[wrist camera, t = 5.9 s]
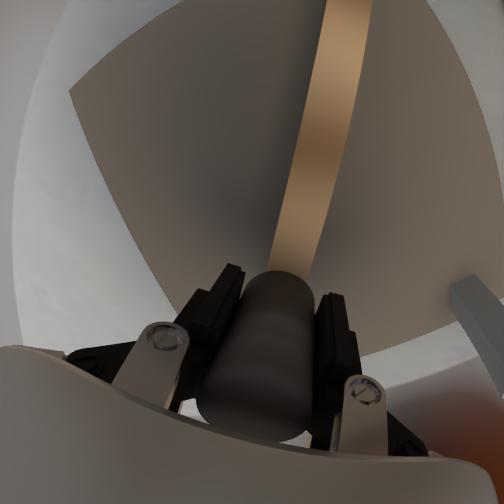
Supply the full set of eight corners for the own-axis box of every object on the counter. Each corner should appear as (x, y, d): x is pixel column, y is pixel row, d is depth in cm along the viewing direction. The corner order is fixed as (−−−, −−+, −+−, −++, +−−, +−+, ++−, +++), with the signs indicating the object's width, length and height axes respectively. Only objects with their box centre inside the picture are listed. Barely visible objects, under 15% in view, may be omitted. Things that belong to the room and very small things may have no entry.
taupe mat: (71, 91, 17) (68, 90, 17) (374, -58, 9) (375, -61, 8) (228, 384, 25) (227, 387, 25) (506, 292, 17) (508, 294, 16)
